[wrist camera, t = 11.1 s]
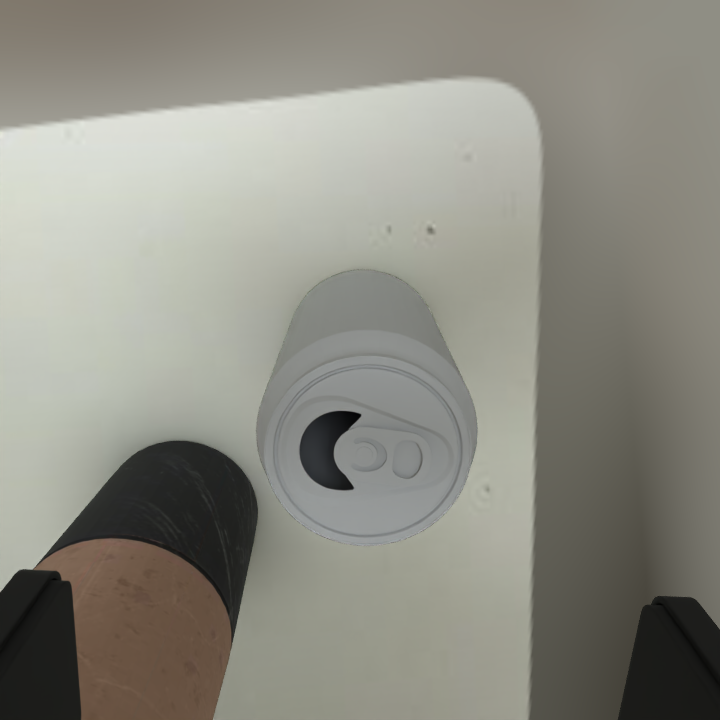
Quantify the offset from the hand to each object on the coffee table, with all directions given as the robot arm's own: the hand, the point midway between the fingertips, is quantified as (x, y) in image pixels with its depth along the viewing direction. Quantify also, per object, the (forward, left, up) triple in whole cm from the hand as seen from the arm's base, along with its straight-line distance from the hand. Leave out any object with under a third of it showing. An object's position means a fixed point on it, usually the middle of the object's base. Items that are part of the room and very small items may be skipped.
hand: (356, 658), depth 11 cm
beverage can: (0, 0, -20) cm, 20 cm away
